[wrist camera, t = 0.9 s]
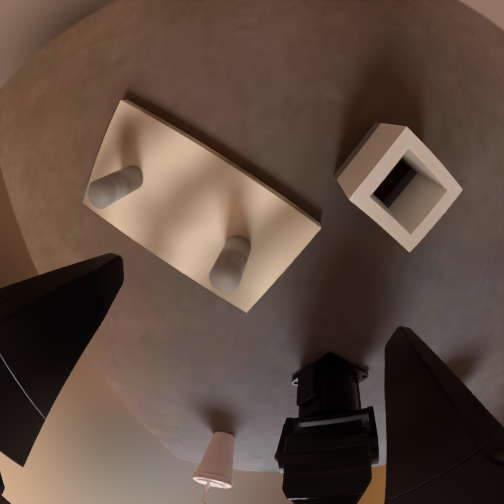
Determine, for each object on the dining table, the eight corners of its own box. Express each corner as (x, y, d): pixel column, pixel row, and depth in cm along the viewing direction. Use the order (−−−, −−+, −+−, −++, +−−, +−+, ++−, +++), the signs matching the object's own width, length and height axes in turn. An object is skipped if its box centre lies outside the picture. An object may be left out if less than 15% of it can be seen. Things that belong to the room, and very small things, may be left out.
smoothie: (209, 424, 38) (188, 497, 26) (247, 435, 38) (232, 508, 26) (203, 436, 41) (183, 500, 29) (236, 445, 42) (222, 510, 29)
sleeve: (422, 167, 17) (462, 189, 12) (382, 216, 19) (409, 252, 14) (374, 122, 16) (406, 126, 11) (333, 174, 19) (348, 199, 13)
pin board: (320, 223, 20) (327, 258, 16) (248, 305, 25) (236, 349, 20) (127, 100, 18) (83, 101, 13) (89, 199, 22) (50, 221, 18)
